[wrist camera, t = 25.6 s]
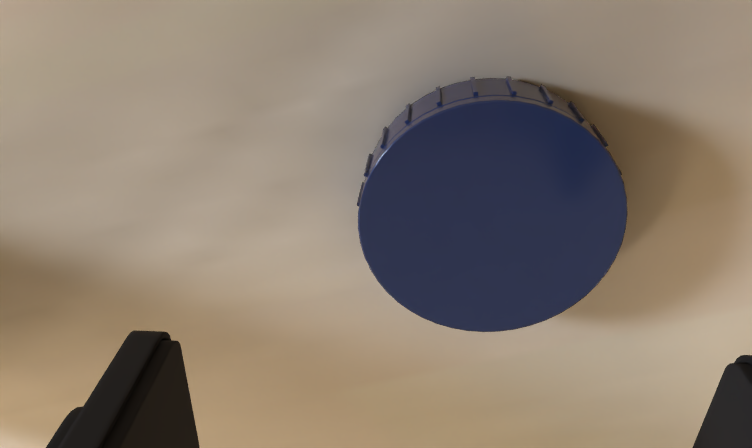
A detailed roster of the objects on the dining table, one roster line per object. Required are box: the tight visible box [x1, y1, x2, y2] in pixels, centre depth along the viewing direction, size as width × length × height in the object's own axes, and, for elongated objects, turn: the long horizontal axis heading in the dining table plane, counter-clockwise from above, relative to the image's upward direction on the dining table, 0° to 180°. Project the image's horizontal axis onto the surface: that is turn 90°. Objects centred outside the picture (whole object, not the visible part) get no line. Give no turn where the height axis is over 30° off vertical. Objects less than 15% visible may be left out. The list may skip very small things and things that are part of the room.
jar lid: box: [357, 77, 627, 332], centre depth 16 cm, size 7×7×2 cm
